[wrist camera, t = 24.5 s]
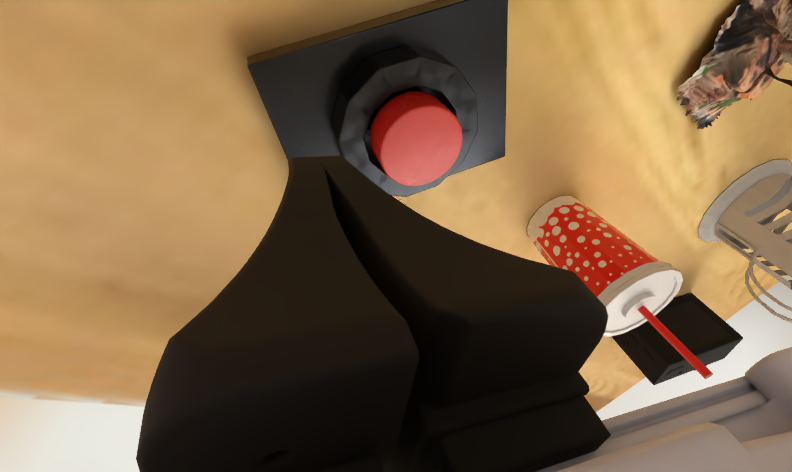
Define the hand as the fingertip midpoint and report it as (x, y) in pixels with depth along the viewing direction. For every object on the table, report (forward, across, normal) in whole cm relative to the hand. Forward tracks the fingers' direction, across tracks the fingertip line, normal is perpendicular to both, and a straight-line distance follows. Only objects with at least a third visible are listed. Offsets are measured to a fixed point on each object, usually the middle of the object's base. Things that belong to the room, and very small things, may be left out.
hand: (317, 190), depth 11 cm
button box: (+10, -6, +2) cm, 12 cm away
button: (+8, -6, +2) cm, 10 cm away
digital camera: (+11, -43, +29) cm, 53 cm away
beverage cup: (+11, -20, +11) cm, 25 cm away
